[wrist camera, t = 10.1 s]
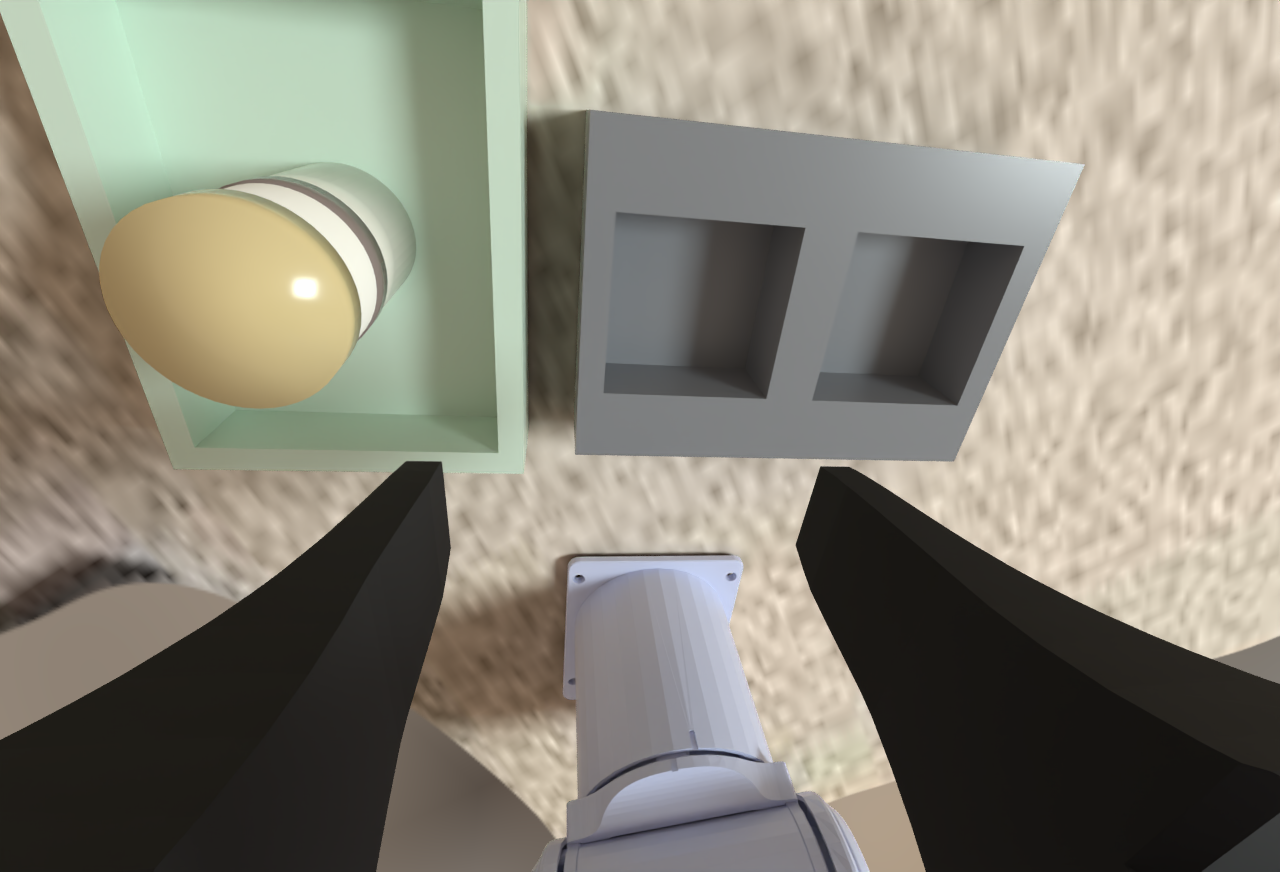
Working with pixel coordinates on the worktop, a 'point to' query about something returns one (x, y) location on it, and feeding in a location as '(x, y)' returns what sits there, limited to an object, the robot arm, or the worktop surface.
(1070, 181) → the fuse block
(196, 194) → the cylinder
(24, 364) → the worktop surface
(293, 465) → the parts tray
